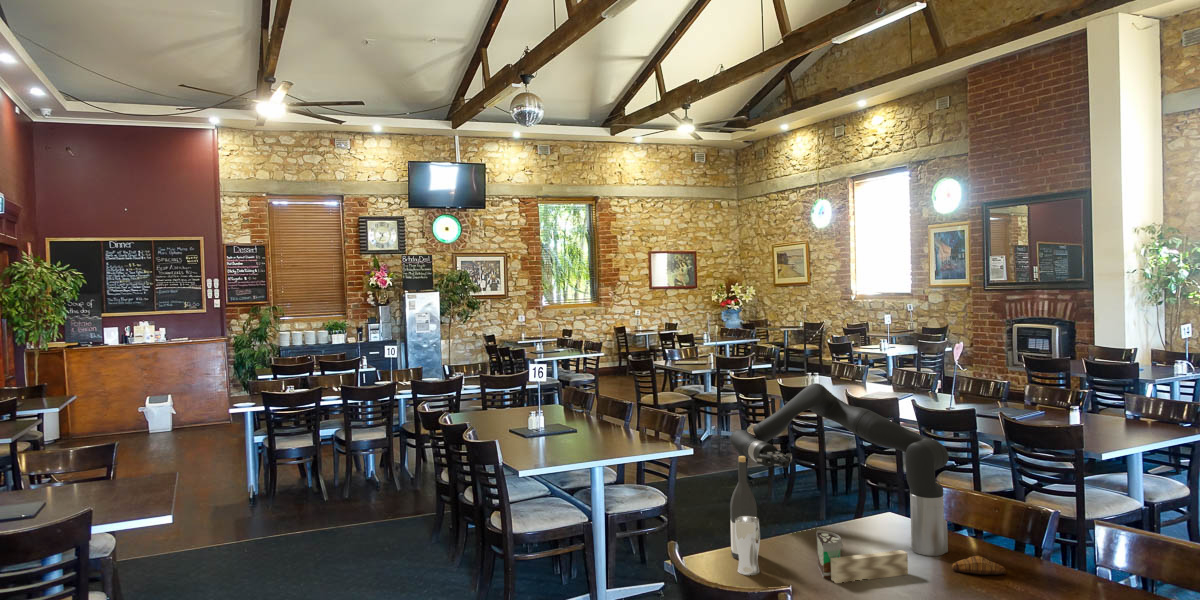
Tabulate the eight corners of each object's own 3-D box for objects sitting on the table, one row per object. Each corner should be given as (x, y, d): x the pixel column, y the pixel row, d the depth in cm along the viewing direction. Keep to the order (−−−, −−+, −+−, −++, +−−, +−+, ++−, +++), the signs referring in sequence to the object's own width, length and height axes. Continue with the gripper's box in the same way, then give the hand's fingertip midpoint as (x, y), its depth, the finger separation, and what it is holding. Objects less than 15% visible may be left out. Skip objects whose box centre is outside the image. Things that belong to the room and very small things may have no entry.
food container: (847, 581, 200) (846, 544, 200) (824, 580, 201) (823, 544, 201) (838, 564, 212) (838, 530, 212) (817, 564, 213) (816, 529, 213)
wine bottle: (728, 558, 219) (725, 458, 219) (734, 550, 227) (731, 453, 226) (755, 561, 216) (753, 460, 216) (760, 552, 223) (757, 454, 223)
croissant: (954, 576, 202) (954, 558, 202) (949, 567, 208) (949, 549, 208) (1009, 579, 198) (1008, 561, 198) (1002, 570, 205) (1001, 552, 205)
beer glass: (762, 568, 211) (760, 516, 211) (759, 577, 204) (757, 523, 204) (738, 566, 213) (736, 514, 213) (734, 574, 207) (732, 521, 206)
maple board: (902, 571, 206) (901, 550, 206) (907, 574, 203) (907, 553, 203) (831, 579, 201) (830, 558, 201) (835, 583, 199) (835, 561, 199)
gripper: (744, 443, 247) (767, 453, 230) (780, 440, 250) (805, 450, 233) (745, 465, 247) (767, 477, 230) (781, 462, 250) (806, 474, 233)
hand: (786, 463), depth 232 cm, fingers closed
